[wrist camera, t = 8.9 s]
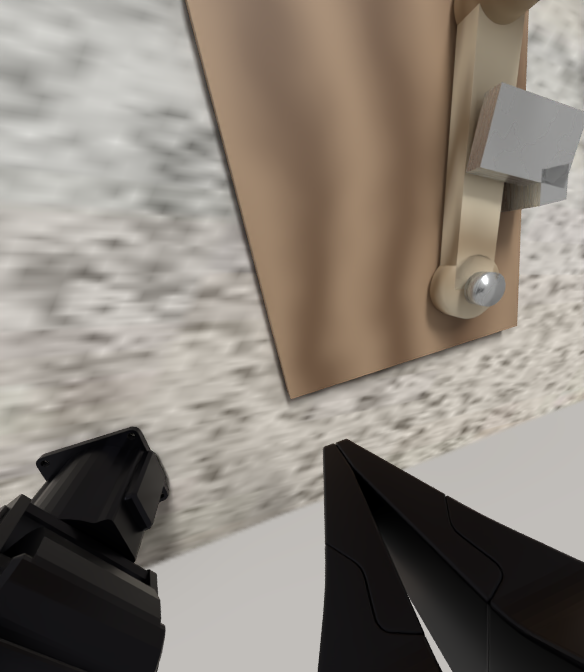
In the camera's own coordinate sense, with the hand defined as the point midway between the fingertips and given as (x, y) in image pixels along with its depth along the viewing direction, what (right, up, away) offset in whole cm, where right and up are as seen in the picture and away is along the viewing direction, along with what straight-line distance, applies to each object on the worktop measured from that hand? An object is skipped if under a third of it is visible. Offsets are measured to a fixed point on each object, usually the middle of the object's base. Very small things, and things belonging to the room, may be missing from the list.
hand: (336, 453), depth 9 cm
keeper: (+12, +13, +11) cm, 21 cm away
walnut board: (+5, +13, +10) cm, 18 cm away
